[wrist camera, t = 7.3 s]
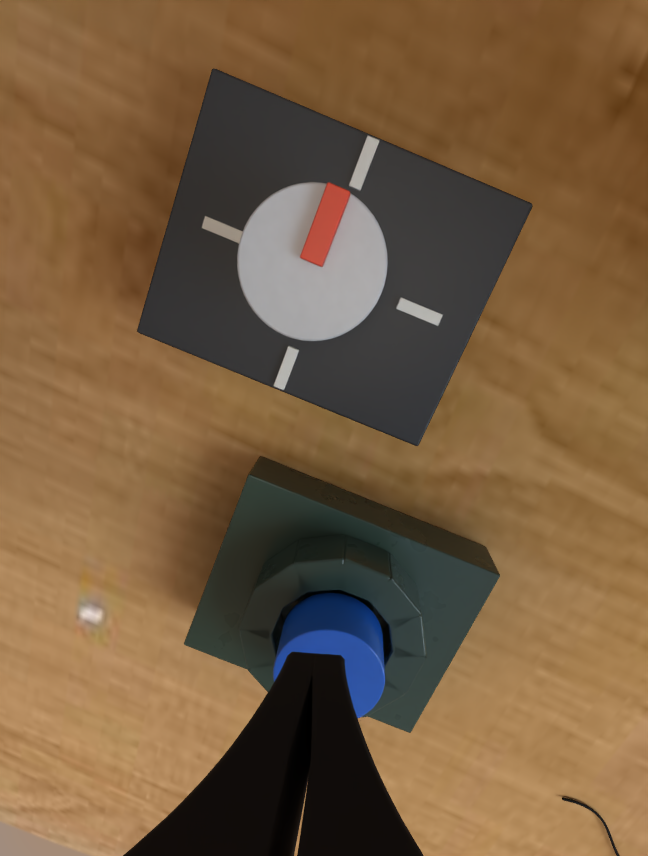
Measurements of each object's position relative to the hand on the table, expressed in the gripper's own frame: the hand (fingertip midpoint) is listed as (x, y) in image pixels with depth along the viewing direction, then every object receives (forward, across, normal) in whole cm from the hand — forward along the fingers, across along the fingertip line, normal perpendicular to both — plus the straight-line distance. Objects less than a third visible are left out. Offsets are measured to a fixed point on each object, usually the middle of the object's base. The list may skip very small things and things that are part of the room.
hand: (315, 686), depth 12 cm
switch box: (+9, 0, +2) cm, 9 cm away
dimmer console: (+9, 0, -10) cm, 13 cm away
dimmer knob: (+6, +1, -10) cm, 12 cm away
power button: (+5, 0, +2) cm, 6 cm away
